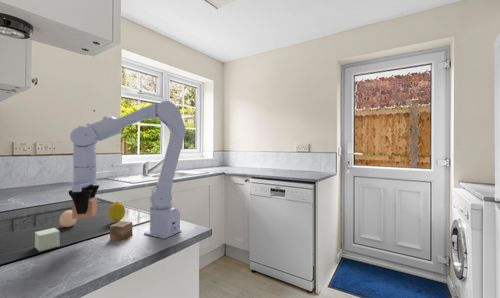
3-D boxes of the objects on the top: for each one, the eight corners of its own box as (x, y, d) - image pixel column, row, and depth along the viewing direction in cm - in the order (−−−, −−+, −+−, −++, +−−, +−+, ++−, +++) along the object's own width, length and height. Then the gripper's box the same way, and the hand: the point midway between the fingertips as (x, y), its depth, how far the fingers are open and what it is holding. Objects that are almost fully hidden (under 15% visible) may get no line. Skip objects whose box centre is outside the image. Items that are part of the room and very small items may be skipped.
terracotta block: (96, 212, 75) (96, 197, 75) (92, 217, 71) (92, 200, 71) (78, 214, 74) (78, 198, 74) (72, 219, 69) (72, 202, 69)
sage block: (59, 246, 69) (59, 231, 69) (39, 251, 66) (39, 235, 65) (54, 242, 72) (54, 227, 72) (35, 247, 68) (34, 232, 68)
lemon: (118, 225, 87) (117, 203, 87) (105, 224, 88) (105, 202, 88) (128, 220, 92) (128, 200, 92) (116, 219, 94) (116, 199, 93)
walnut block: (132, 235, 77) (132, 222, 77) (122, 241, 73) (122, 226, 73) (120, 234, 78) (120, 221, 78) (110, 240, 74) (109, 225, 74)
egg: (57, 226, 85) (57, 210, 85) (75, 223, 89) (75, 207, 89) (61, 230, 82) (61, 213, 81) (78, 226, 85) (78, 210, 85)
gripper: (77, 165, 77) (78, 206, 78) (58, 169, 64) (59, 219, 64) (102, 164, 80) (102, 204, 80) (89, 168, 66) (89, 217, 66)
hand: (85, 211), depth 72 cm, fingers closed on terracotta block, 5 cm apart
